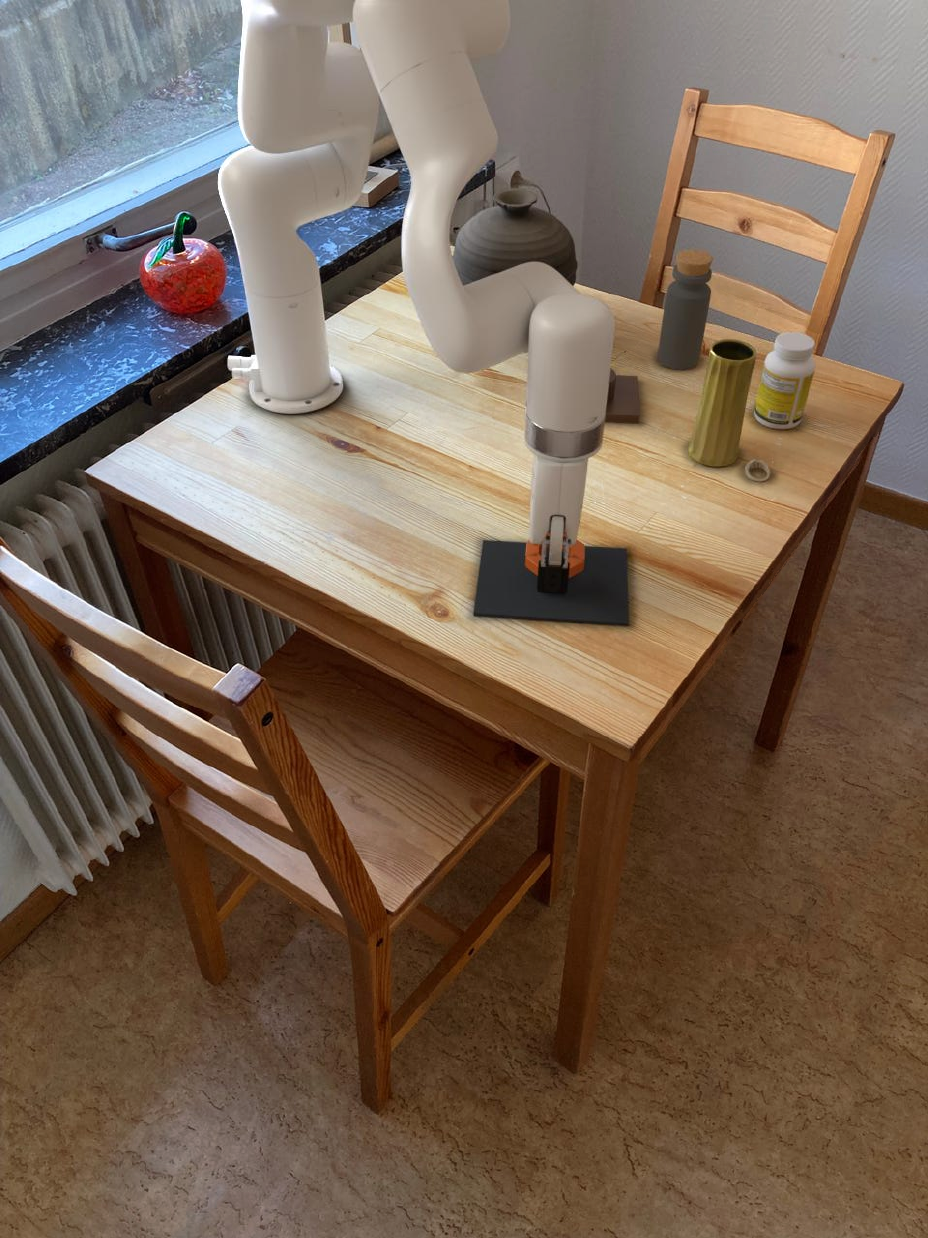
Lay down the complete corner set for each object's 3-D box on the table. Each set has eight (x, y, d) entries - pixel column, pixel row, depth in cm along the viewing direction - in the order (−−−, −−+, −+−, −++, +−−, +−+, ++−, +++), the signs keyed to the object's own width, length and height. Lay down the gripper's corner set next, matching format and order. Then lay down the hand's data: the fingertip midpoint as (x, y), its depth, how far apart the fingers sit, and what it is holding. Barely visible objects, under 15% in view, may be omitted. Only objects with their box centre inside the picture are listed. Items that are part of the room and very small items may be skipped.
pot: (563, 363, 139) (561, 218, 126) (442, 356, 144) (427, 215, 130) (588, 308, 152) (588, 171, 138) (476, 303, 156) (465, 170, 143)
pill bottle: (786, 402, 133) (805, 325, 125) (810, 426, 128) (831, 348, 121) (744, 409, 131) (760, 332, 124) (766, 434, 127) (785, 356, 120)
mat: (473, 616, 103) (473, 613, 103) (483, 542, 112) (483, 539, 112) (628, 626, 102) (628, 623, 102) (626, 551, 111) (626, 548, 110)
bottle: (703, 354, 142) (722, 251, 131) (692, 373, 138) (710, 269, 128) (664, 345, 144) (679, 243, 133) (651, 364, 140) (666, 261, 129)
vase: (737, 470, 122) (760, 365, 112) (686, 464, 122) (705, 360, 113) (737, 442, 126) (760, 339, 116) (688, 437, 127) (707, 334, 117)
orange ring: (523, 577, 104) (524, 567, 103) (527, 540, 109) (527, 530, 108) (583, 581, 104) (584, 571, 103) (584, 543, 108) (585, 533, 107)
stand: (545, 418, 130) (549, 363, 124) (548, 379, 137) (552, 325, 132) (638, 423, 129) (645, 368, 124) (636, 383, 136) (643, 329, 131)
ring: (748, 486, 120) (739, 468, 122) (772, 483, 121) (762, 465, 122) (752, 478, 119) (743, 460, 121) (775, 475, 119) (766, 456, 121)
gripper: (529, 378, 101) (522, 518, 114) (519, 478, 89) (513, 623, 101) (603, 381, 100) (588, 522, 113) (604, 483, 88) (587, 628, 101)
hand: (553, 568), depth 107 cm, fingers closed on orange ring, 6 cm apart
